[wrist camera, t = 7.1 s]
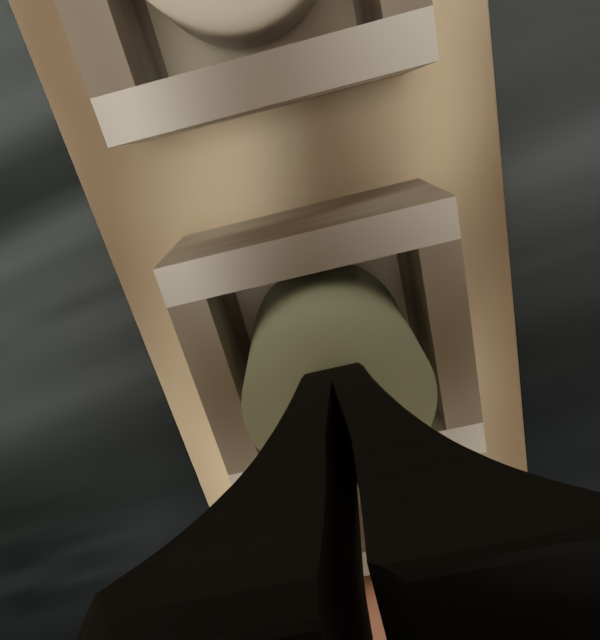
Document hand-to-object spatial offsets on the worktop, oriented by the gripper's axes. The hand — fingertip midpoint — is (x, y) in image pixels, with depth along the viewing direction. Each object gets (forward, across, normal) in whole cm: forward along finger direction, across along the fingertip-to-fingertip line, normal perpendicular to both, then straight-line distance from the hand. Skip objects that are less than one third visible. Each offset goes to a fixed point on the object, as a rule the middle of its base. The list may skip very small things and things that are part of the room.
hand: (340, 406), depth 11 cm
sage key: (+4, 0, 0) cm, 4 cm away
